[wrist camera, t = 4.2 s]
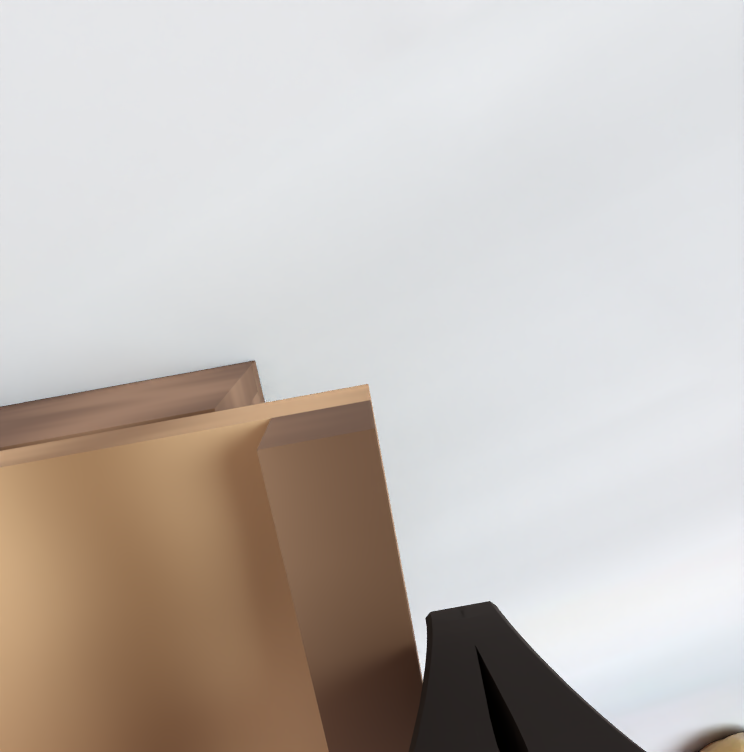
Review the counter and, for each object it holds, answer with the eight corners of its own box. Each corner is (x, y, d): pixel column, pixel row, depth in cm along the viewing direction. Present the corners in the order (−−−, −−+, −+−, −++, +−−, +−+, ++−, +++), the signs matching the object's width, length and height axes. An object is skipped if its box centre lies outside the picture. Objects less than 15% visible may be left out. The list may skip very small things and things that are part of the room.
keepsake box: (-31, 712, 18) (-169, 879, 13) (-148, 433, 16) (-364, 514, 11) (321, 647, 18) (312, 790, 13) (255, 360, 16) (214, 408, 11)
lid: (-49, 869, 13) (-154, 1032, 10) (-225, 492, 11) (-419, 573, 8) (440, 779, 13) (464, 917, 10) (368, 384, 11) (375, 428, 8)
